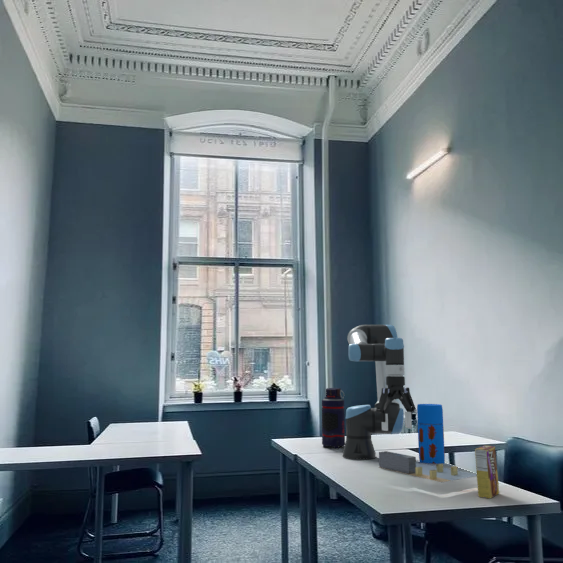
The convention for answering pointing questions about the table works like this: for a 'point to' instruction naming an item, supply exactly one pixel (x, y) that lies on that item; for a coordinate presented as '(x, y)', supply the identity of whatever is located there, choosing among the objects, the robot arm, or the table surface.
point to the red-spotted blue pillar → (430, 433)
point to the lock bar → (397, 462)
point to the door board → (440, 473)
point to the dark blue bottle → (333, 419)
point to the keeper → (434, 473)
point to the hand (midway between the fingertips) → (396, 429)
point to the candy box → (486, 471)
